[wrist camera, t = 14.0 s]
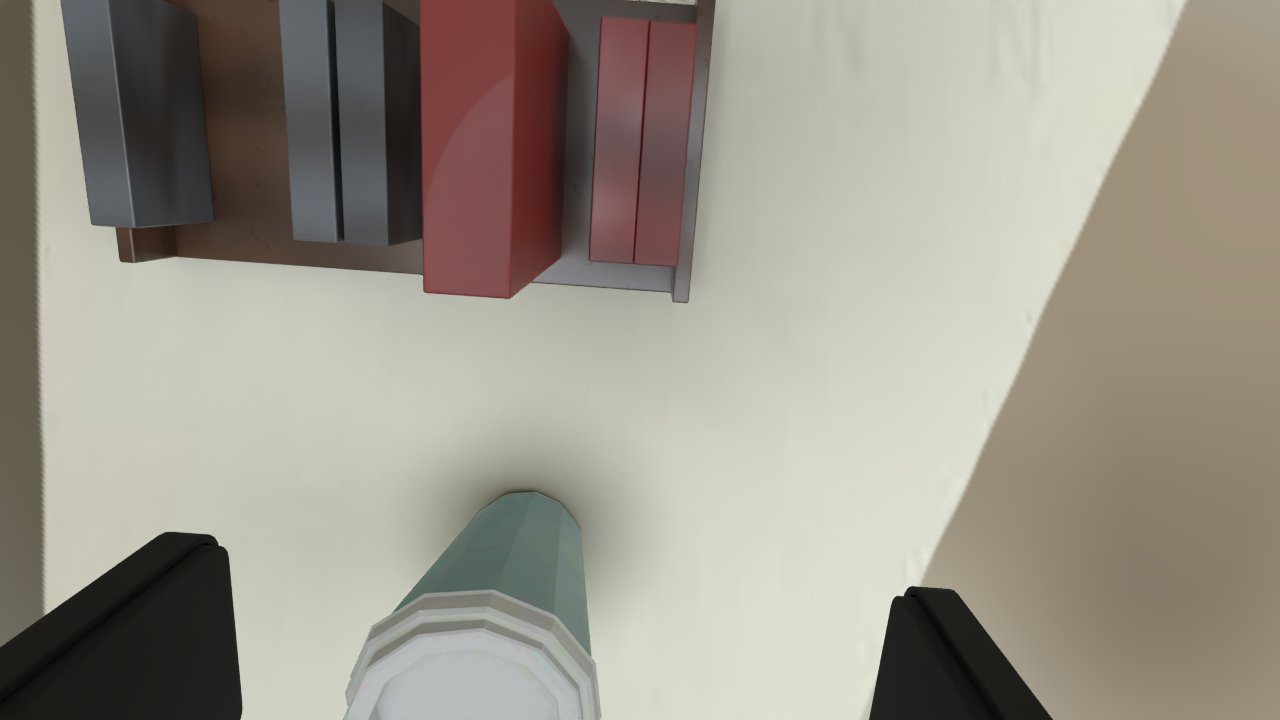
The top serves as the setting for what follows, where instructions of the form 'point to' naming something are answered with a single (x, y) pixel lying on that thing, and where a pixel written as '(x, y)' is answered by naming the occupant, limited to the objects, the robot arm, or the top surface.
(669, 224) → the book rack
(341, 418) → the top surface
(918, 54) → the top surface
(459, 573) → the disposable coffee cup
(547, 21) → the red book
